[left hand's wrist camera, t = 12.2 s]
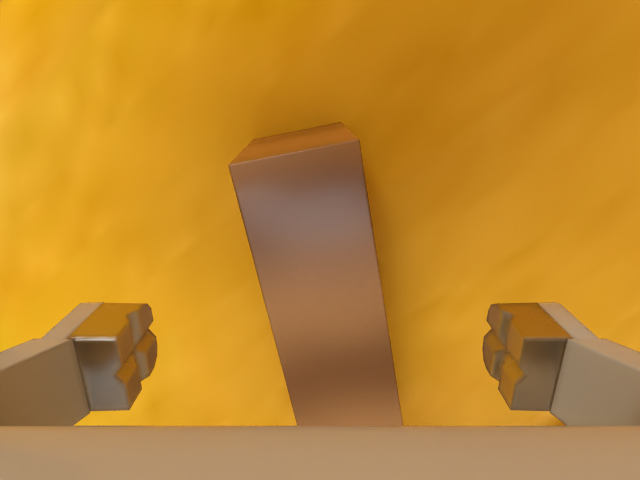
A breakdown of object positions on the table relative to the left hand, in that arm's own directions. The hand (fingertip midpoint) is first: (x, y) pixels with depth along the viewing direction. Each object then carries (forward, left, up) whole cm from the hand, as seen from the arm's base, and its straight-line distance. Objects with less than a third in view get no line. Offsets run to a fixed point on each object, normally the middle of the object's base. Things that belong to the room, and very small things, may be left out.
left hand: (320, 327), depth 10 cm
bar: (+7, +5, -19) cm, 21 cm away
